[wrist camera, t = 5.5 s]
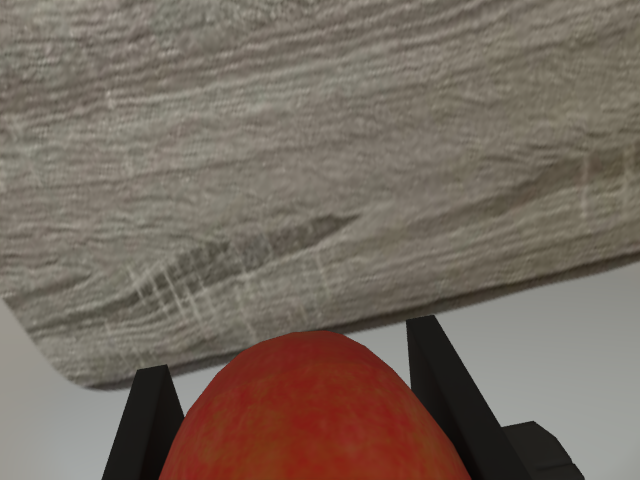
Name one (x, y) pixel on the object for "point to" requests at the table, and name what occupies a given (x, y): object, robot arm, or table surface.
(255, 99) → the table surface
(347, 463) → the apple
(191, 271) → the table surface
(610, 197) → the table surface
